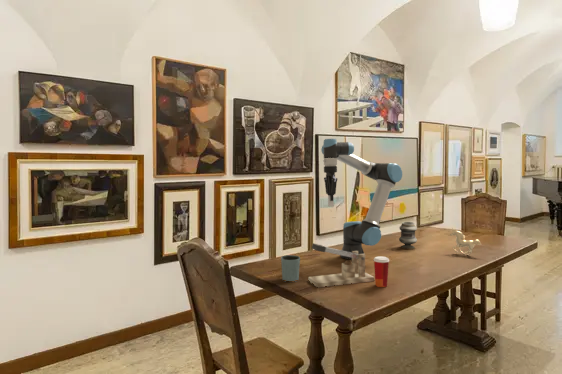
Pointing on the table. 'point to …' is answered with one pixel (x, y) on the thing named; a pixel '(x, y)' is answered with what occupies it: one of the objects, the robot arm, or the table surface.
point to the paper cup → (381, 271)
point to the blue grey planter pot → (290, 267)
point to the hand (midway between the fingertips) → (330, 206)
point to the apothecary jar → (408, 235)
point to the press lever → (334, 251)
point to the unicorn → (464, 242)
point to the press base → (342, 279)
